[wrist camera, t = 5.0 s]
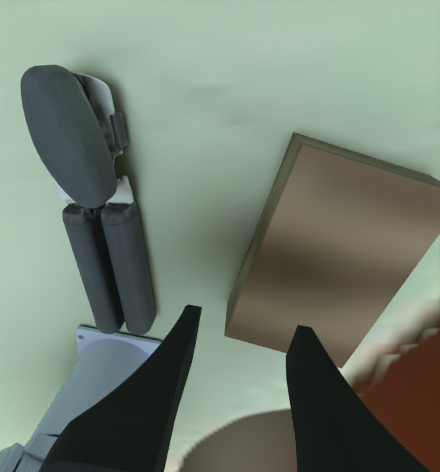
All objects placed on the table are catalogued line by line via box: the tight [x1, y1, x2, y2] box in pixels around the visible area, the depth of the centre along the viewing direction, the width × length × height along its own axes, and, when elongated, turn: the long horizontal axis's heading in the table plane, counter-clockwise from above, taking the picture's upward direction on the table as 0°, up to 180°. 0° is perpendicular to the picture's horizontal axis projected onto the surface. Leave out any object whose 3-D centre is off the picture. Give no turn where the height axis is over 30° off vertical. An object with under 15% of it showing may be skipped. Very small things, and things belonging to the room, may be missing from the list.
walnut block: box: [224, 133, 440, 368], centre depth 21 cm, size 14×9×4 cm, turn 164°
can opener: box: [21, 65, 156, 335], centre depth 20 cm, size 19×5×6 cm, turn 3°
